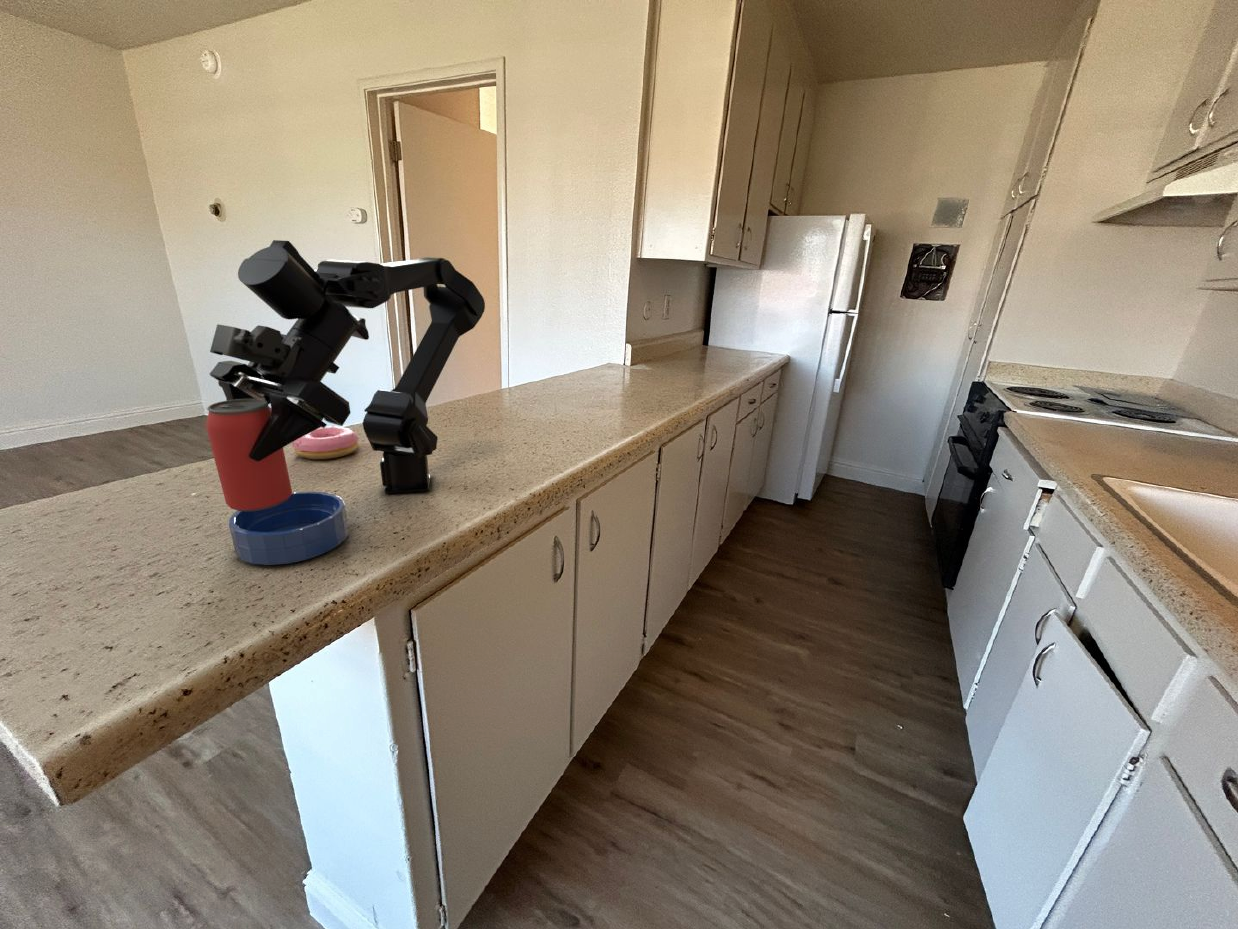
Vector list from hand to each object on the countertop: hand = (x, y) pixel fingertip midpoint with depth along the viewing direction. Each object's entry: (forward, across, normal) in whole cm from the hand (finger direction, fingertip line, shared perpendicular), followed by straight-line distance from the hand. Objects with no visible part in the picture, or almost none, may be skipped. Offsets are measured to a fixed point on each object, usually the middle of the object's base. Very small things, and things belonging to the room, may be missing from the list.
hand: (236, 453), depth 58 cm
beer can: (+4, 0, +6) cm, 7 cm away
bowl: (+7, +1, +12) cm, 14 cm away
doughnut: (-9, -27, +29) cm, 41 cm away
